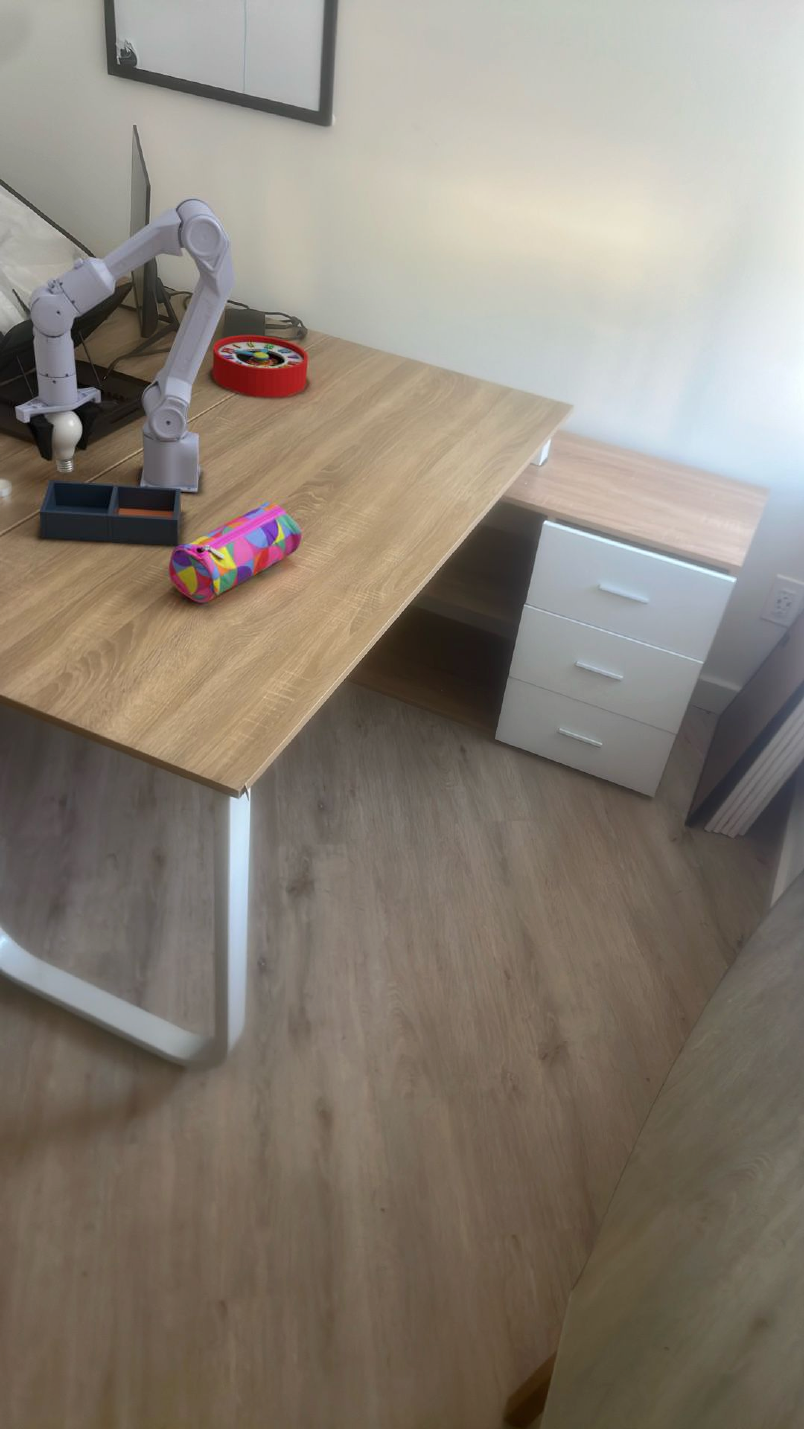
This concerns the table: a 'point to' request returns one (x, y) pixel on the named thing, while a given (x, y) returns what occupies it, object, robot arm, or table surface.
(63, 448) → the lightbulb
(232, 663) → the table surface
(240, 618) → the table surface
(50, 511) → the organiser
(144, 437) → the robot arm
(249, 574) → the pencil case
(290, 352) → the toy clock
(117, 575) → the table surface
